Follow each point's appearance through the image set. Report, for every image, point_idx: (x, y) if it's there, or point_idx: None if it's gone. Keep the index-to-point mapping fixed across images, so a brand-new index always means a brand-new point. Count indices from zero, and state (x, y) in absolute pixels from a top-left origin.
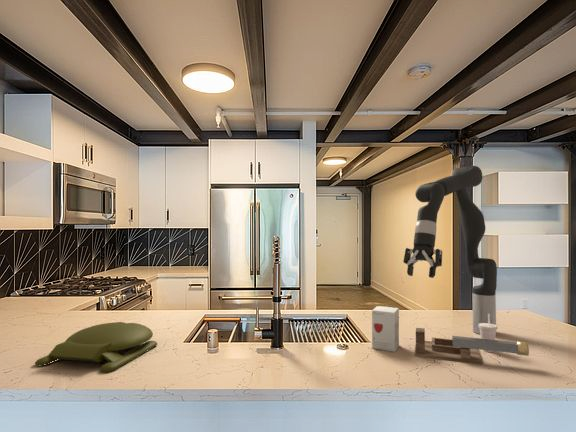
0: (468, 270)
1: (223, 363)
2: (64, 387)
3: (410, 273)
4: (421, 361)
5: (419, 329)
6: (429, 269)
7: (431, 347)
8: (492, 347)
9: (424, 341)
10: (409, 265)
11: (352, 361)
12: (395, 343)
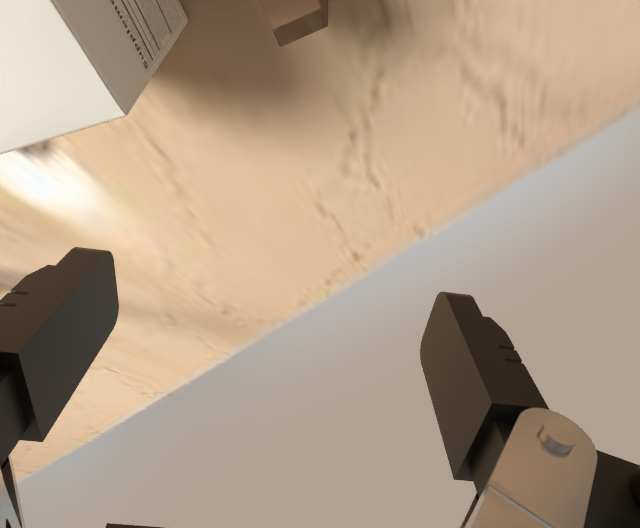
0: None
1: None
2: (37, 469)
3: (103, 315)
4: (339, 56)
5: None
6: (442, 437)
7: None
8: None
9: (327, 6)
10: (20, 439)
11: (170, 218)
12: (171, 16)
